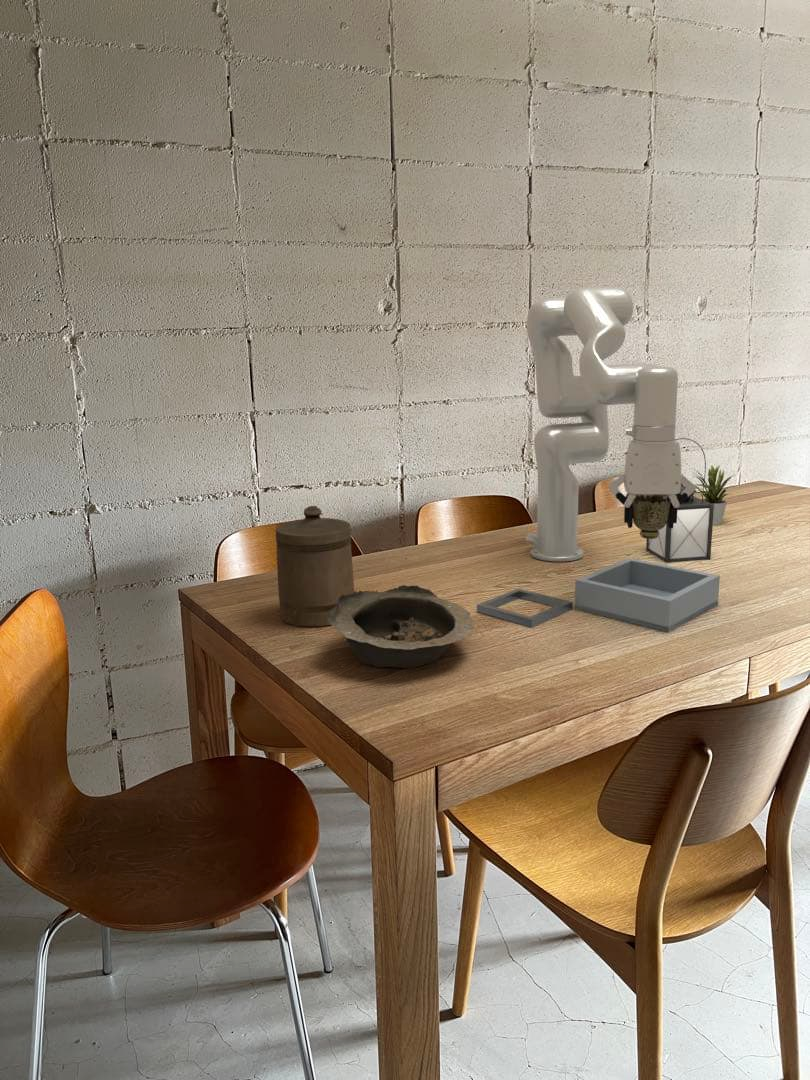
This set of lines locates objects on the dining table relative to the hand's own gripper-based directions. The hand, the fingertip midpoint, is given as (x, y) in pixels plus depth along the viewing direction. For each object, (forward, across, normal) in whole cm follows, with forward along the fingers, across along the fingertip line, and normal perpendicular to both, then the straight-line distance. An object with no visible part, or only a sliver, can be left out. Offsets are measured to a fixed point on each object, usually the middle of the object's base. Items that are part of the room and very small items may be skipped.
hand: (649, 525), depth 162 cm
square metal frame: (+16, -24, -4) cm, 29 cm away
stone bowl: (+17, -44, -28) cm, 55 cm away
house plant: (+17, +24, +72) cm, 78 cm away
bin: (+16, 0, 0) cm, 16 cm away
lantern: (+17, +11, +39) cm, 44 cm away
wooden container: (+17, -64, -10) cm, 67 cm away
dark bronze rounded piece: (+3, 0, 0) cm, 3 cm away
